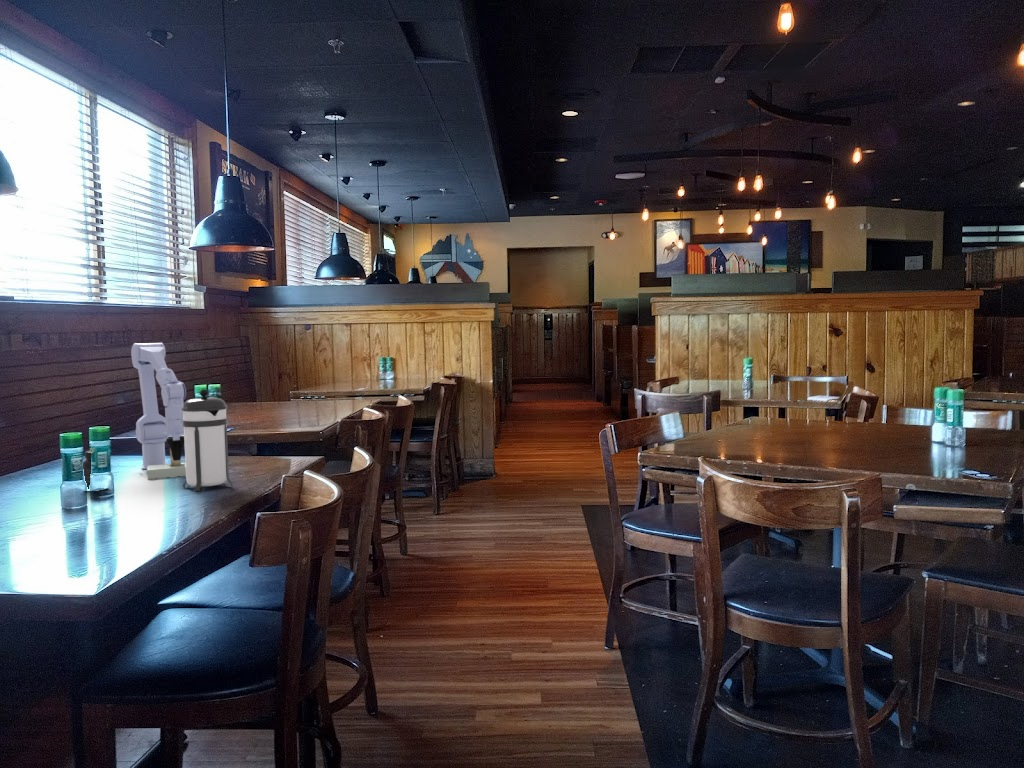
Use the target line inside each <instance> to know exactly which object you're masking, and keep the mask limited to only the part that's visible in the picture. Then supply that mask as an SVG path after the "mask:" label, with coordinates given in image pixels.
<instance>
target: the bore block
mask: <svg viewBox="0 0 1024 768" xmlns="http://www.w3.org/2000/svg"><path fill="white" fill-rule="evenodd" d="M146 470H147V480H155V478H158V479H167V478H166V477H170V478H178V477H177V476H181V477H186V464H185V462H181V465H180V466H171V463H167V464H162V465H149V466H147V469H146Z"/></svg>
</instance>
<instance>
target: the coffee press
mask: <svg viewBox="0 0 1024 768" xmlns="http://www.w3.org/2000/svg"><path fill="white" fill-rule="evenodd" d="M199 395H200V396H201V397H195V398H191V399H187V400H186V401H185V402H183V403H184V405H183V407H182V408H181V409H182V412H183V426H184V435H183V437H184V457H185V458H184V460H185V462H184V463H185V464H186V476H185V481H184V483H183V485H182V488H183V489H185V488H186V487H187V488H186V489H189V488H190V487H191V486H192V487H194V489H195V493H196V492H201V491H203V489H204V488H205V487H212V486H219V485H223V486H225V487H226V488H227V487H231V488H232V487H233V486H234V483H233V482H232V480H231V479H230V474H229V473H230V471H229V470H230V469H229V454H228V453H229V448H228V447H229V446H228V445H229V444H228V427H227V426H228V417H227V410H228V405H227V404H226V402H225V400H223V399H222V398H219V397H208V395H209V391H208V390H207V389H201V390H200V391H199ZM227 482H228V483H229V484H230V485H229V484H227ZM186 484H187V485H188V486H186ZM201 493H202V492H201Z"/></svg>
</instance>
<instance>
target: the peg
mask: <svg viewBox="0 0 1024 768" xmlns="http://www.w3.org/2000/svg"><path fill="white" fill-rule="evenodd" d="M169 455H170V457H169V458H170V464H171V466H180V465H181V463H182V462H181V461H182V460H181V459H182V458H181V459H180V460H176V461H174V460H173V457H172V452H171V449H170V448H169Z"/></svg>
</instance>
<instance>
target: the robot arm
mask: <svg viewBox="0 0 1024 768" xmlns="http://www.w3.org/2000/svg"><path fill="white" fill-rule="evenodd" d="M130 356H131V362H132V363H131V364H132V367H133V368H135V369H137V370H138V371H137V372H138V379H139V386H140V395H141V404H142V411H143V412H142V413H143V415H142V416H141V417H139V418H138V419H137V421H136V422H135V426H136V427H135V437H136V440H137V441H138V442H139V443H140V444H141V450H142V452H141V453H142V464H141V470H147V466H149V465H162V464H168V463H167V462H166V449H165V447H166V445H165V444H166V443H167V444H168V446H169V450H170V449H171V452H172V457H173V460H174V461H176V460H180V459H182V453H183V452H182V451H183V449H184V448H183V447H184V445H185V443H184V426H183V412H182V409H181V408H182V407H183V405H184V403H185V402H184V400H185V399H186V397H187V388H186V385H185V383H184V382H182V381H179V380H178V378H177V376H176V374H175V372H174V370H172V369H171V368H168V365H167V363H166V360H165V358H166V347H165V344H164V343H163V342H148V343H147V342H145V343H144V342H143V343H139V342H138V343H137V342H134V343H133V344H132V346H131V351H130ZM155 372H156V373H155ZM155 379H156V380H155ZM156 381H157V384H159V386H160V388H161V390H160V391H161V392H160V394H161V395H160V396H161V400H162V405H163V406H164V413H165V415H164V416H163V415H162V414H160V413H159V405H158V404H159V403H158V398H157V397H158V396H157V388H156ZM165 442H166V443H165Z"/></svg>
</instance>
